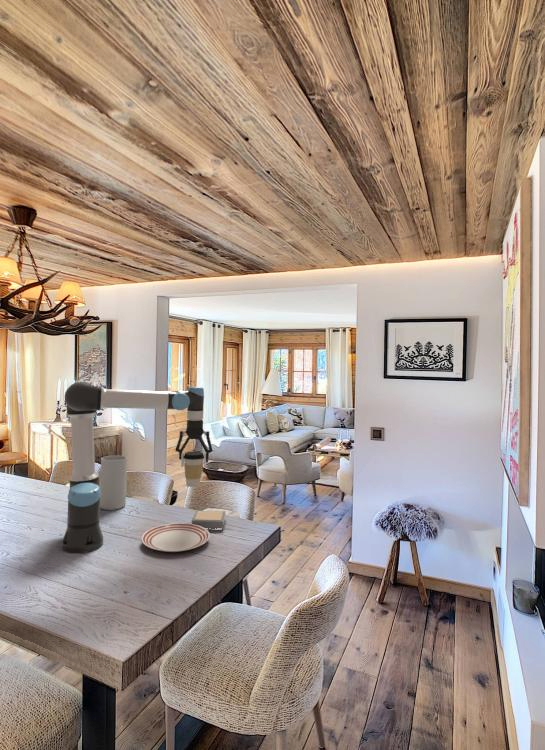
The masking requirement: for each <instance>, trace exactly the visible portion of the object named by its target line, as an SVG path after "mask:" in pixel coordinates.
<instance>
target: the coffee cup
mask: <svg viewBox="0 0 545 750" xmlns="http://www.w3.org/2000/svg"><path fill="white" fill-rule="evenodd" d="M183 458H184V466H183V467H184V478H185V483H186V484H185V485H186V487H189V488H194V487H199V486H200V485H201V479H202V473H203V468H204V453H203V452H202V451H186V452H184V457H183Z"/></svg>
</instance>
